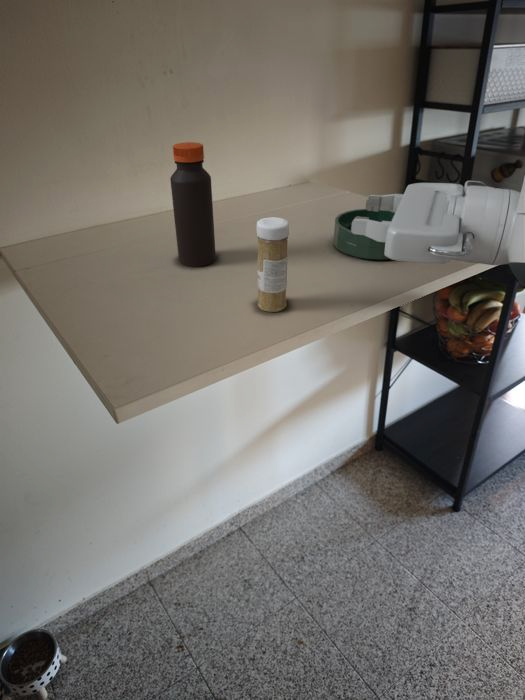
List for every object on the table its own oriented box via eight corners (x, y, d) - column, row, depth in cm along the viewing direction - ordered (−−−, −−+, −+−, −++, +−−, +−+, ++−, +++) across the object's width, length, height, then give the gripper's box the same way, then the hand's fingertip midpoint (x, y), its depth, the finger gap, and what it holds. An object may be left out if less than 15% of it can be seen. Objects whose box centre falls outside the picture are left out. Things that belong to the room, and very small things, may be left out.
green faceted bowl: (393, 230, 104) (397, 206, 101) (426, 258, 92) (431, 232, 89) (323, 235, 102) (325, 211, 99) (347, 265, 89) (350, 238, 87)
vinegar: (223, 260, 92) (217, 145, 81) (193, 271, 88) (182, 151, 77) (201, 250, 96) (192, 139, 85) (171, 259, 92) (158, 145, 81)
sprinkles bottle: (259, 298, 79) (258, 215, 72) (287, 300, 79) (290, 216, 71) (255, 312, 75) (254, 226, 68) (285, 314, 75) (288, 227, 67)
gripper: (465, 284, 54) (340, 266, 58) (469, 223, 70) (370, 213, 74) (479, 227, 50) (344, 213, 54) (480, 177, 66) (376, 169, 70)
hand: (360, 212), depth 64 cm, fingers open, 8 cm apart
